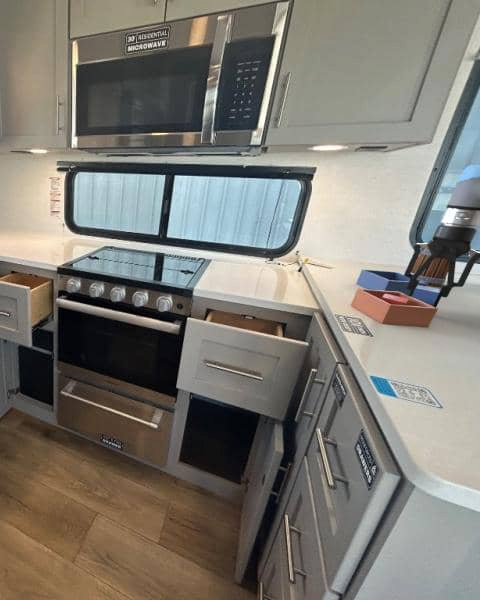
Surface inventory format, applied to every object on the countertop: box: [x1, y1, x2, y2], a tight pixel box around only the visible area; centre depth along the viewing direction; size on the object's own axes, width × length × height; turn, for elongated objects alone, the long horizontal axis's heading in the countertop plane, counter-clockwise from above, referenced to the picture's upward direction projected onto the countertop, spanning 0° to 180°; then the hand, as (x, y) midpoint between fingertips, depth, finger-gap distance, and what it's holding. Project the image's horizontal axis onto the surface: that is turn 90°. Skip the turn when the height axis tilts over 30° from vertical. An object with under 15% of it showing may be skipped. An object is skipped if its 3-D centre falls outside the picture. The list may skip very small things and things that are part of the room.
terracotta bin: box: [350, 288, 439, 328], centre depth 93 cm, size 12×12×6 cm
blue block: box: [412, 285, 441, 306], centre depth 98 cm, size 5×5×5 cm
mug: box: [411, 241, 449, 288], centre depth 127 cm, size 16×11×15 cm
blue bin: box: [356, 269, 427, 296], centre depth 114 cm, size 12×12×6 cm
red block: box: [381, 294, 408, 305], centre depth 93 cm, size 5×5×5 cm
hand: (421, 303), depth 99 cm, fingers closed on blue block, 5 cm apart
